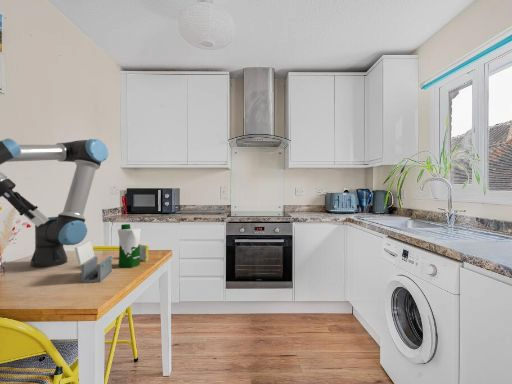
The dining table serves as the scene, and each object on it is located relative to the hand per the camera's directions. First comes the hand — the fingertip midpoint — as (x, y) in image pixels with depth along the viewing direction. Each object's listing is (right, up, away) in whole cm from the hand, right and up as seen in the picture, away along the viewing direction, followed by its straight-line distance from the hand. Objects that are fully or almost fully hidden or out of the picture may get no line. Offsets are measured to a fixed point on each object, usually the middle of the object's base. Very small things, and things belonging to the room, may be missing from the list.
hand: (43, 223), depth 123 cm
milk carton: (+24, -24, +25) cm, 42 cm away
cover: (+15, -13, +4) cm, 20 cm away
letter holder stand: (+19, -23, +5) cm, 31 cm away
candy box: (+23, -24, +39) cm, 51 cm away
